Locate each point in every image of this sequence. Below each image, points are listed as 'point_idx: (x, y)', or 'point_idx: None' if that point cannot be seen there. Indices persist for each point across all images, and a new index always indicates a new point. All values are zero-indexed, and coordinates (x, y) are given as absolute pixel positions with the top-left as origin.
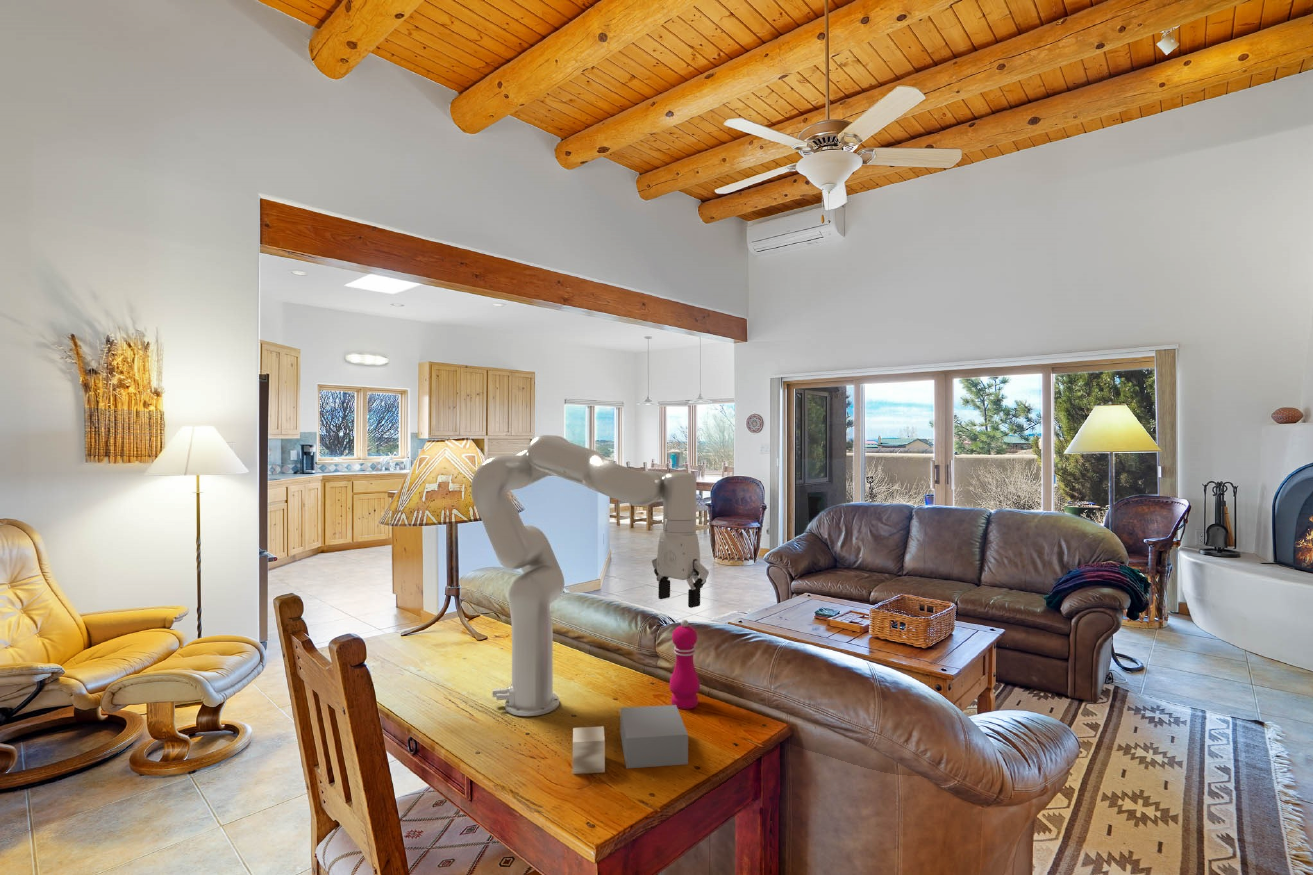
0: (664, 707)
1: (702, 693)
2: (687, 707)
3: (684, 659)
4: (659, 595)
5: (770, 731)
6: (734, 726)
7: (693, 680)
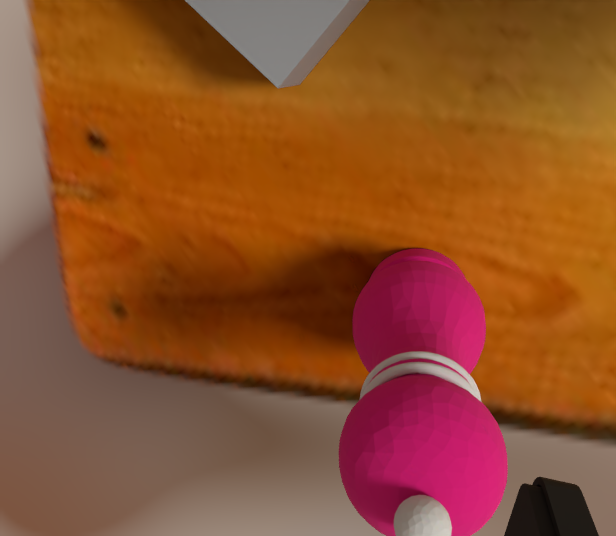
0: (298, 28)
1: None
2: (379, 265)
3: (392, 355)
4: (564, 514)
5: (80, 283)
6: (175, 247)
7: (358, 327)
